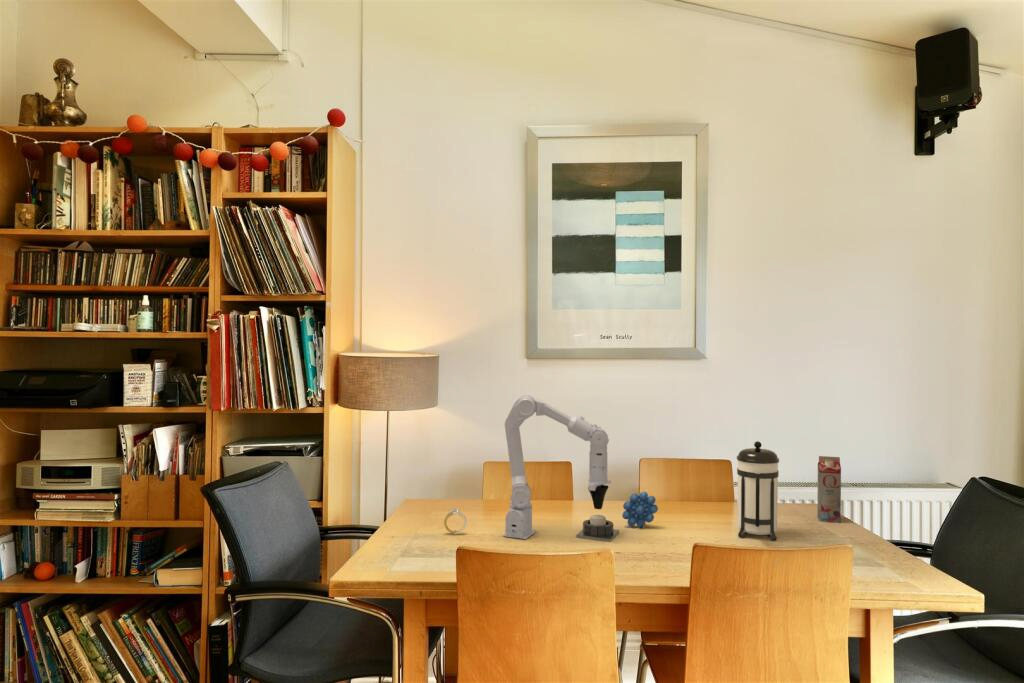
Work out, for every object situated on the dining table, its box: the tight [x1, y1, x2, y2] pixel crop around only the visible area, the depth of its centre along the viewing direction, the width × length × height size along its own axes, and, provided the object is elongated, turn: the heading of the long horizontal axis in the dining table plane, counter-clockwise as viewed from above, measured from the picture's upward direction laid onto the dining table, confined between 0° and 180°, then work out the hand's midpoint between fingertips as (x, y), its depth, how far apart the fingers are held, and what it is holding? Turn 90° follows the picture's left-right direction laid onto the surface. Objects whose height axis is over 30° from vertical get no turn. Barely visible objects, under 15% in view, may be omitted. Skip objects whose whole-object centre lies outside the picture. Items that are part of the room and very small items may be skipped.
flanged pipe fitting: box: [575, 519, 620, 543], centre depth 217 cm, size 11×11×4 cm
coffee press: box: [736, 440, 780, 542], centre depth 216 cm, size 17×16×30 cm
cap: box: [589, 514, 607, 526], centre depth 217 cm, size 5×5×5 cm
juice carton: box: [816, 455, 842, 524], centre depth 236 cm, size 7×7×22 cm
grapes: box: [621, 491, 659, 528], centre depth 227 cm, size 12×7×12 cm, turn 81°
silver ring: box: [443, 508, 467, 535], centre depth 217 cm, size 7×3×8 cm, turn 84°
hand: (598, 508), depth 217 cm, fingers closed
